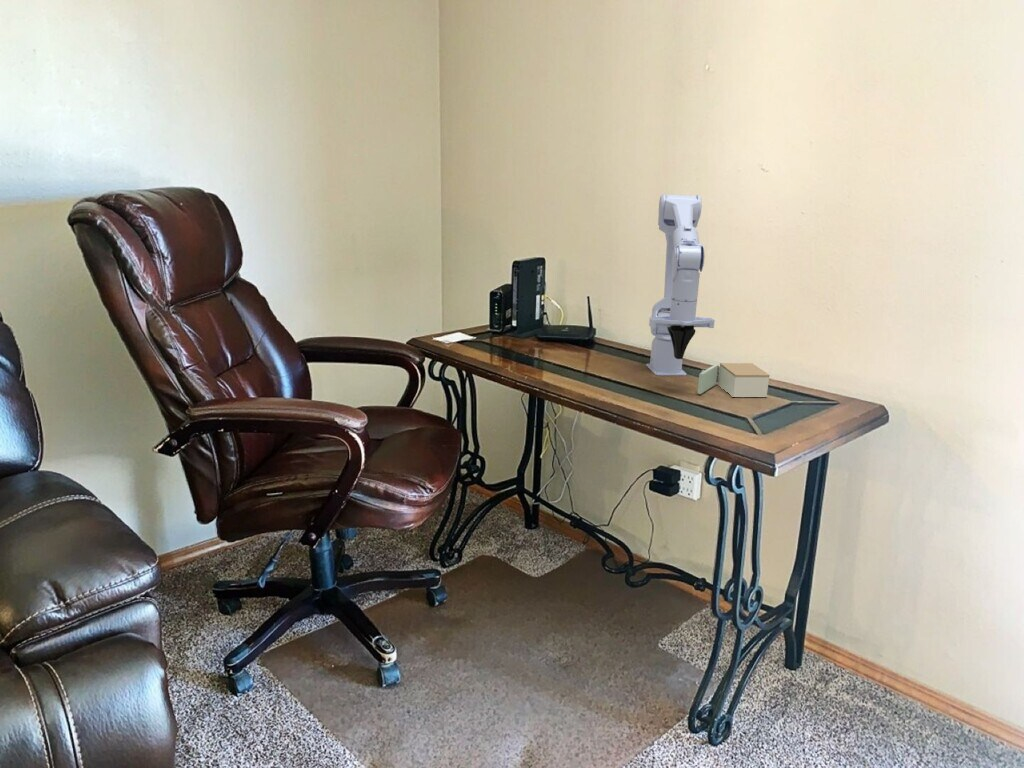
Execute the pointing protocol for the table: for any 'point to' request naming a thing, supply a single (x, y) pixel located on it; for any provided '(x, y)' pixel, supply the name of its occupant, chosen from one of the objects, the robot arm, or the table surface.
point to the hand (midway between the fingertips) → (678, 357)
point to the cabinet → (743, 380)
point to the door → (708, 379)
